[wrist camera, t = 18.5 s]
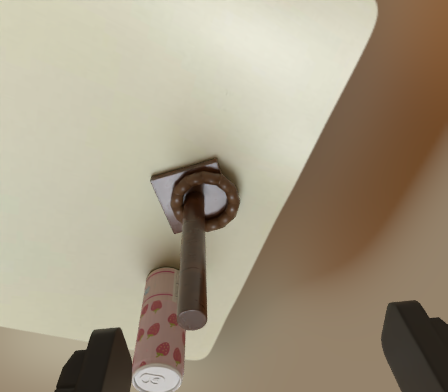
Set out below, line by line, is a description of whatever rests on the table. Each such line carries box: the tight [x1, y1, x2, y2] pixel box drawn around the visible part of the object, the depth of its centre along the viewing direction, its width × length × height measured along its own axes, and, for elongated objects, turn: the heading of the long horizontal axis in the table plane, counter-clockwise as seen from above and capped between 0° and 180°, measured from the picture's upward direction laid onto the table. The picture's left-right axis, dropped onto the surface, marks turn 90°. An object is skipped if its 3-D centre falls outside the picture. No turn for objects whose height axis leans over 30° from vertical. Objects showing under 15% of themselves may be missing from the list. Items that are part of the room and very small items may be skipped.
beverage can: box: [132, 267, 186, 392], centre depth 46 cm, size 6×6×15 cm
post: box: [150, 158, 228, 330], centre depth 38 cm, size 8×8×19 cm
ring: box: [170, 171, 240, 232], centre depth 44 cm, size 8×8×1 cm
